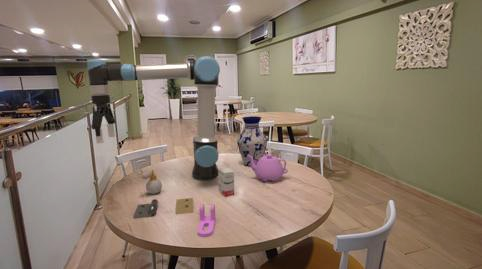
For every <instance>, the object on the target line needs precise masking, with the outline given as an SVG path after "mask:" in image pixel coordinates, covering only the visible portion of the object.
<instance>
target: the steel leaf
mask: <svg viewBox="0 0 482 269" xmlns="http://www.w3.org/2000/svg"><path fill="white" fill-rule="evenodd" d="M158 205H159V200H158V199H152V200H151V203H144V204H143V203H142V204H138V205H137V207H136V209H135V212H134V213H133V216H132V217H133V219H140V218H141V219H142V218H151V217H153V216H155V214H156V211H157V208H158Z"/></svg>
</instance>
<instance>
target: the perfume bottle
mask: <svg viewBox="0 0 482 269" xmlns="http://www.w3.org/2000/svg"><path fill="white" fill-rule="evenodd" d="M141 178H142V179H143V180H148V179H149V180H148V181H147V182H146V184H145V190H146V192H148V194H153V195H155V194H158V193H159V192H160V191H161V190H162V188H163V184H162V181H161V180H160V179H159V178H157V175H156V174H155V172H154V170H153V169H152V170H151V172H150V171H144V172H142V173H141Z"/></svg>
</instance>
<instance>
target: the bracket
mask: <svg viewBox="0 0 482 269" xmlns="http://www.w3.org/2000/svg"><path fill="white" fill-rule="evenodd" d="M198 208H199V210H198V212H199V222H198V223H199V224H198V226H197V230H196V231H197V236H198V237H201V238H208V237H211V236H212V235H213V233H214V230H215V225H216V205H215V203H213V204H212V203H211V204H210V215H206V214H205V213H206V212H205V204H203V203H202V204H199V207H198ZM205 227H207V230H204V229H205Z"/></svg>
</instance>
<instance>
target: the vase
mask: <svg viewBox="0 0 482 269" xmlns="http://www.w3.org/2000/svg"><path fill="white" fill-rule="evenodd" d="M241 119H242V121H243V123H244V129H243V131H242V132H241V133H240V134H239V135H238V138H237V139H236V143H237V147H238V151H239V154H240V157H241V159H242V162H243V165H244V166H245V167H249V166H251V161H250V158H249V157H248V156H247V155H250V156H252V157H253V161H254V164H255V165H256V164H257V162H258V161H259V159H260V158H261V157H263V156H265V153H266V149H267V146H268V138H267V136H266V135H265V134H264V133H263V131H262V130H261V129H260V122H261V120H262V117H261V116H243V117H242V118H241Z"/></svg>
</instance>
